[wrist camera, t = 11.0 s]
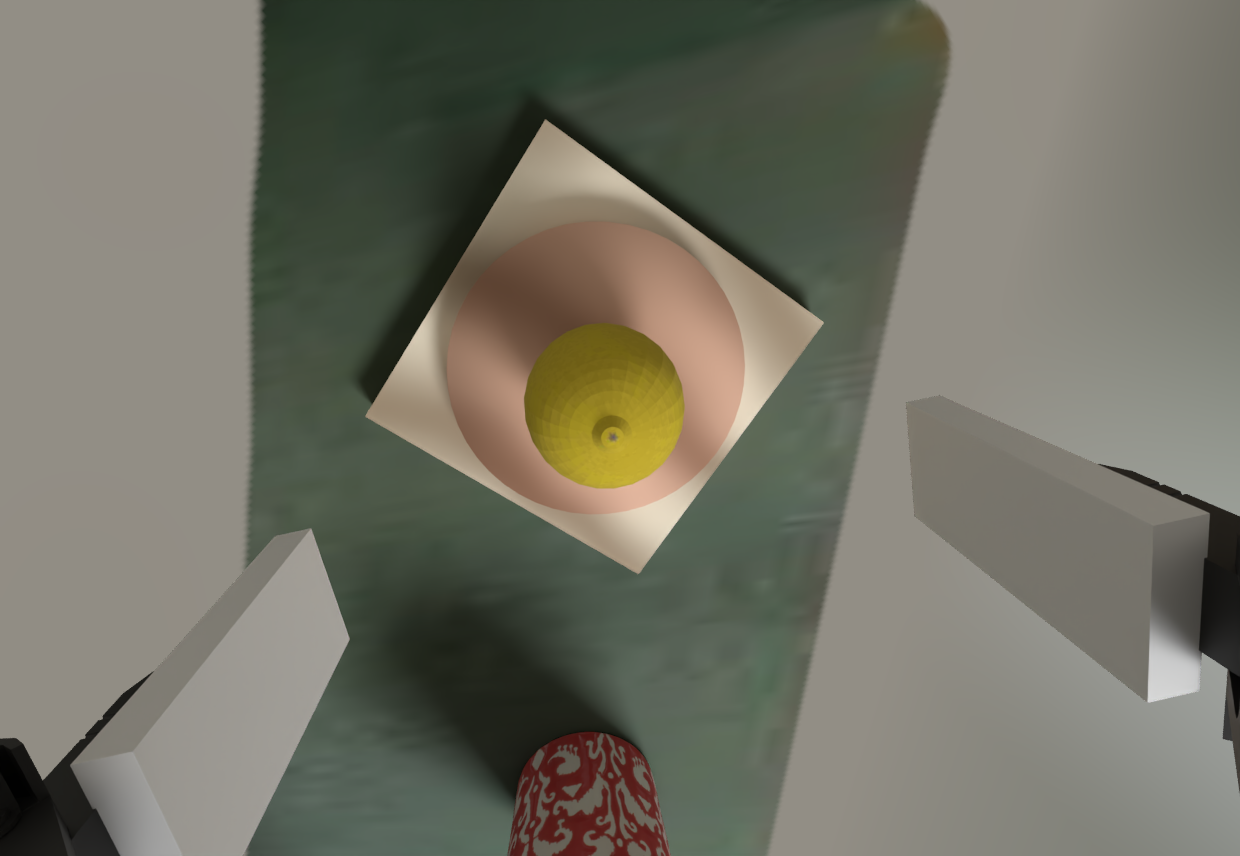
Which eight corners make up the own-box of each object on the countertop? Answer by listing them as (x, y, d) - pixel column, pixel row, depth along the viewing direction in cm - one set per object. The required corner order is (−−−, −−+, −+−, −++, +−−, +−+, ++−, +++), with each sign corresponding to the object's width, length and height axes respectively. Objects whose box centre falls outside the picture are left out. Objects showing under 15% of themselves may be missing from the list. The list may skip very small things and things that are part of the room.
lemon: (692, 382, 29) (742, 443, 21) (591, 469, 29) (604, 558, 22) (603, 279, 27) (621, 304, 20) (499, 373, 28) (477, 433, 20)
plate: (635, 559, 34) (642, 590, 31) (374, 407, 31) (355, 426, 28) (811, 317, 31) (837, 327, 29) (546, 124, 28) (544, 113, 25)
